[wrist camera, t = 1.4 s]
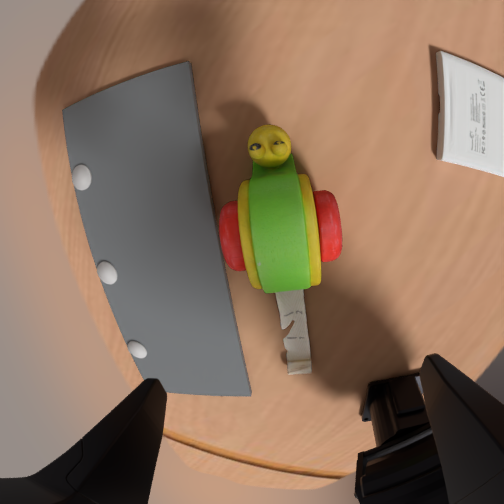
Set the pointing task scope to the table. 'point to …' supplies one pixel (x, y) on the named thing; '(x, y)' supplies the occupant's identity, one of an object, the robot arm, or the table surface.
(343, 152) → the table surface
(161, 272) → the marked mat
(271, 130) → the toy measuring tape
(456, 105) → the external hard drive
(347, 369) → the table surface
